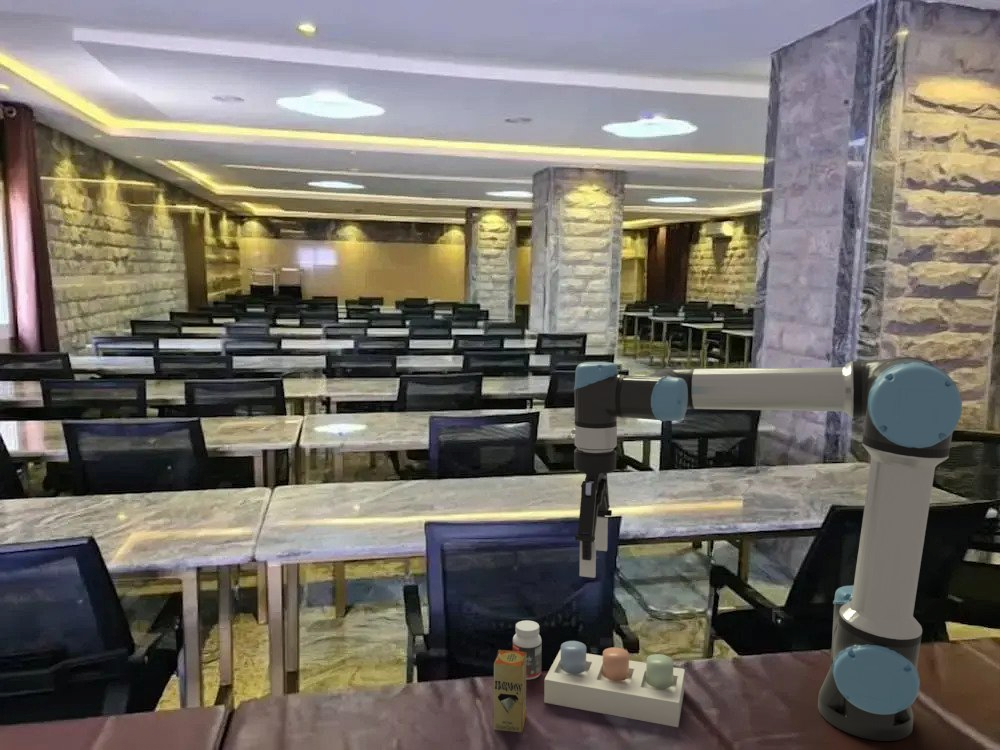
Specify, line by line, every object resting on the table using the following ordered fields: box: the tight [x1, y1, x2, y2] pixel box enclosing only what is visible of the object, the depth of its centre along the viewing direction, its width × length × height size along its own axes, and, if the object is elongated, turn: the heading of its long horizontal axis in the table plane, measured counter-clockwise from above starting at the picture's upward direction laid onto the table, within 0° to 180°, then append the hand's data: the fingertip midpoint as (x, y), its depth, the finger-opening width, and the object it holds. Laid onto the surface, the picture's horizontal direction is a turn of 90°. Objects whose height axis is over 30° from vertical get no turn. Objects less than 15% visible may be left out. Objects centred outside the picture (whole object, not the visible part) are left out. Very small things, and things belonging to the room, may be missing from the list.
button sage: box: [645, 653, 674, 689], centre depth 133 cm, size 5×5×4 cm
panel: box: [543, 648, 686, 728], centre depth 136 cm, size 24×12×4 cm, turn 71°
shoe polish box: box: [493, 649, 527, 733], centre depth 128 cm, size 5×5×12 cm
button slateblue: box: [560, 640, 587, 674], centre depth 138 cm, size 5×5×4 cm
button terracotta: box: [602, 646, 630, 681], centre depth 136 cm, size 5×5×4 cm
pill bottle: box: [512, 620, 543, 681], centre depth 145 cm, size 6×6×10 cm
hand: (594, 562), depth 134 cm, fingers open, 13 cm apart
